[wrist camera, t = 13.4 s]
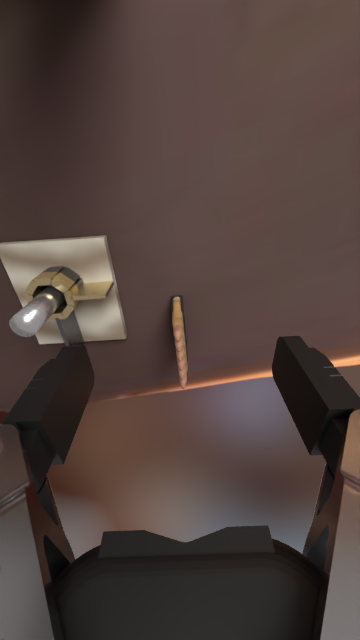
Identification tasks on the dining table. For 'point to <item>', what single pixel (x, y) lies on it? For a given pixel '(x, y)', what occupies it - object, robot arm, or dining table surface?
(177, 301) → the ammunition clip
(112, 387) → the dining table surface
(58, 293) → the hinge pin
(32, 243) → the base plate with nut
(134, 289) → the dining table surface
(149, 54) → the dining table surface
